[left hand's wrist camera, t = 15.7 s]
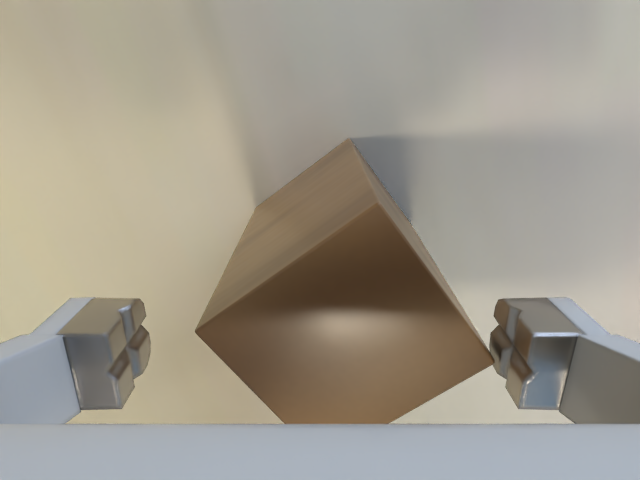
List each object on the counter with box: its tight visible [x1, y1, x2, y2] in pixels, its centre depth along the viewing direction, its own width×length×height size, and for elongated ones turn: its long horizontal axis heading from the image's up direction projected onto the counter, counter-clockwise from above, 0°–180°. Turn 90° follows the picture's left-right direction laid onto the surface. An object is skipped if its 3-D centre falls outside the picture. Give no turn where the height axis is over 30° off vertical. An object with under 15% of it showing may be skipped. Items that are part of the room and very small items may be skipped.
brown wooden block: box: [195, 138, 495, 424], centre depth 14 cm, size 5×5×10 cm
